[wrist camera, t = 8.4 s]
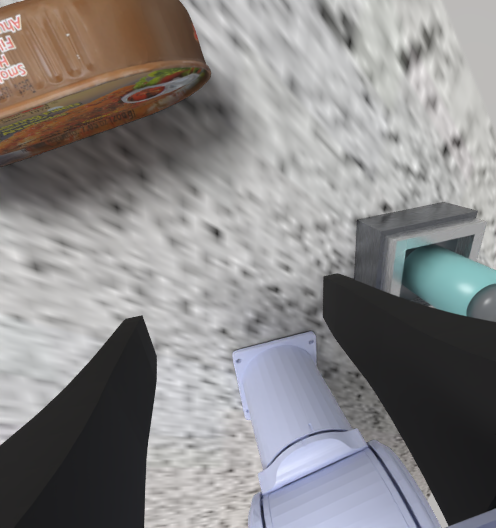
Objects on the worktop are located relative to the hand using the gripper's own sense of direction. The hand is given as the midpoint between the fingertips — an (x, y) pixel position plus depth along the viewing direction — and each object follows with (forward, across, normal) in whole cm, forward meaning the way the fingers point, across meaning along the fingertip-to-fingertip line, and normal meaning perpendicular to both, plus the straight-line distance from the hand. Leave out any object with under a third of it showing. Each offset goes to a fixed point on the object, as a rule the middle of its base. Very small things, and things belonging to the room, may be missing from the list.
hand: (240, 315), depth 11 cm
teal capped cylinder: (+7, -16, +5) cm, 18 cm away
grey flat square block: (+10, -16, +5) cm, 19 cm away
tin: (+11, +7, -8) cm, 15 cm away
